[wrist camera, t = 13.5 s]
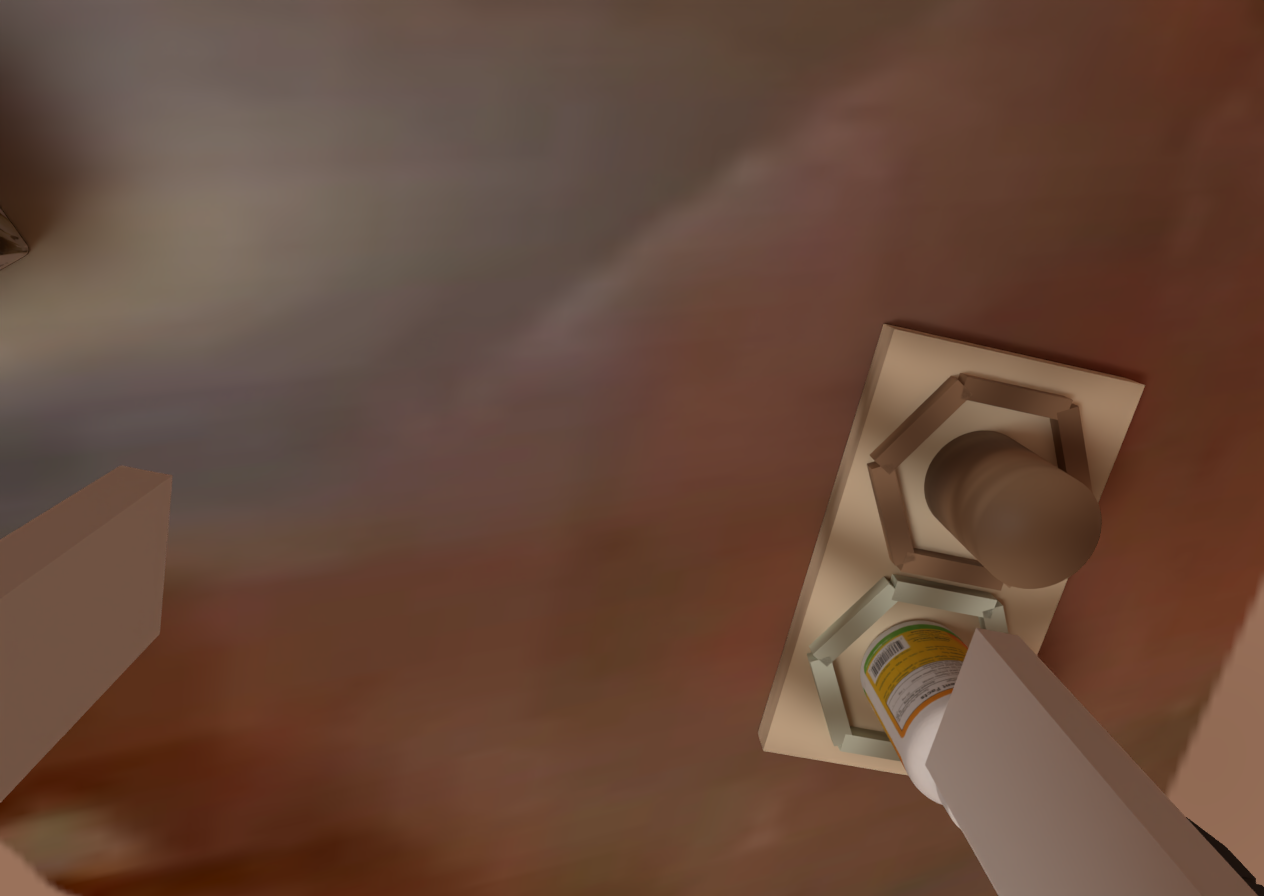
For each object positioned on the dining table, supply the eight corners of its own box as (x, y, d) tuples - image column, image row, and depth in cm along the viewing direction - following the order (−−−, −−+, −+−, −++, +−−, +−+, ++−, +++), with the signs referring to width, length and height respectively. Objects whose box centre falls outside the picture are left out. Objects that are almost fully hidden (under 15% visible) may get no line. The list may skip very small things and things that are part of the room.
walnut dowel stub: (943, 420, 40) (1002, 461, 34) (1046, 442, 41) (1120, 486, 35) (910, 521, 41) (960, 576, 36) (1009, 541, 42) (1074, 599, 36)
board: (883, 323, 40) (900, 332, 38) (1126, 377, 41) (1155, 389, 39) (757, 732, 46) (766, 760, 44) (972, 769, 48) (990, 798, 45)
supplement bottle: (961, 709, 45) (1059, 849, 35) (856, 716, 44) (926, 859, 35) (969, 613, 43) (1073, 734, 34) (859, 620, 43) (934, 743, 34)
